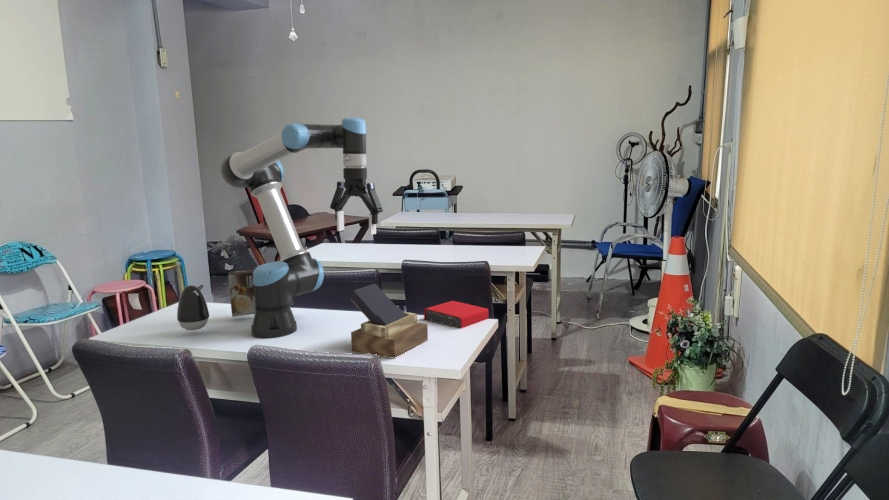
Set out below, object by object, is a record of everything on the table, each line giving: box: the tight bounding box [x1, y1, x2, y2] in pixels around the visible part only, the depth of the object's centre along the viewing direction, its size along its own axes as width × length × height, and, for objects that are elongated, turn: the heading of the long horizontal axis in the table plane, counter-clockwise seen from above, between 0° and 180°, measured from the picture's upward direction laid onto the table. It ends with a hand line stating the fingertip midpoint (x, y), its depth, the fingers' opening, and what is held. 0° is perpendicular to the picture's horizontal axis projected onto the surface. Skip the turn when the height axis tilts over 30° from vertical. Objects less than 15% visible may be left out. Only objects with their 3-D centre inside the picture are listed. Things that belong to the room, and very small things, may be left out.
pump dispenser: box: [176, 284, 210, 331], centre depth 205 cm, size 10×10×15 cm
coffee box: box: [227, 269, 255, 318], centre depth 222 cm, size 9×6×16 cm
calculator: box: [349, 283, 406, 326], centre depth 183 cm, size 11×4×15 cm
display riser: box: [350, 311, 429, 359], centre depth 183 cm, size 16×18×9 cm
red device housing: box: [423, 300, 490, 329], centre depth 210 cm, size 18×14×5 cm
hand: (356, 232), depth 195 cm, fingers open, 13 cm apart
